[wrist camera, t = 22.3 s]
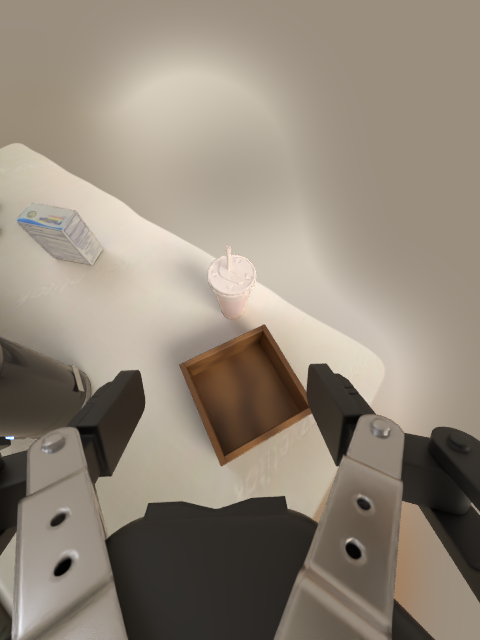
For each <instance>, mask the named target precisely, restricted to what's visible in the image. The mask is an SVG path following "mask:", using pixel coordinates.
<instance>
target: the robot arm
mask: <svg viewBox="0 0 480 640" xmlns="http://www.w3.org/2000/svg"><path fill="white" fill-rule="evenodd" d="M307 401H308V405H309V407H310V410H311V412H312V414H313V416H314V418H315V421H316V423H317V425H318V427H319V429H320V432H321V434H322V436H323V438H324V440H325V443H326V445H327V447H328V449H329V451H330V454H331V456H332V458H333V460H334V462H335V465H336V466H339V468H338V471H337V474H336V477H335V479H334V482H333V485H332V488H331V490H330V493H329V496H328V499H327V502H326V505H325V507H324V510H323V513H322V516H321V518H320V521H319V523H317V522H316V521H314V520H313V519H311V518H310V517H308V516H306V515H304V514H302V513H300V512H297V511H294V510H291V509H287V504H286V499H285V496H280V497H260V498H250V499H247V500H244V501H241V502H238V503H235V504H232V505H229V506H226V507H223V508H219V509H212V508H208V507H204V506H200V505H195V504H191V503H187V502H183V501H181V502H161V503H148V506H147V509H146V513H145V516H144V517H142V518H139V519H137V520H134V521H132V522H130V523H129V524H127V525H125V526H123V527H122V528H120V529H119V530H117V531H116V532H115V533H113V534H112V535H111V536H110V537H108V533H107V529H106V526H105V522H104V518H103V514H102V510H101V506H100V503H99V499H98V495H97V491H96V488H95V483H96V481H97V479H98V477H105V476H112V474H113V472H114V470H115V468H116V466H117V464H118V462H119V460H120V458H121V456H122V454H123V452H124V450H125V448H126V446H127V444H128V442H129V440H130V438H131V436H132V434H133V432H134V430H135V428H136V426H137V424H138V422H139V420H140V418H141V416H142V414H143V412H144V408H145V395H144V389H143V384H142V378H141V373H140V371H139V370H127V371H121V372H120V373H119V374H118V375H117V376H116V377H115V379H114V380H113V381H112V382H108V383H106V384H105V385H103V386H102V387H100V388H99V389H98V390H97V391H96V392H95V393H94V395H93V396H92V398H91V385H90V381H89V379H88V377H87V376H86V375H85V374H84V373H83V372H82V371H81V370H79V369H78V368H77V367H76V366H74V365H72V366H69V365H65V364H63V363H61V362H59V361H56V360H54V359H52V358H49V357H47V356H45V355H42V354H40V353H38V352H35V351H33V350H31V349H28V348H26V347H24V346H21V345H19V344H17V343H14V342H12V341H10V340H7V339H5V338H3V337H0V450H2V449H4V448H6V447H8V446H10V445H11V441H10V439H25V438H27V437H31V438H39V439H37V440H36V441H35V442H34V443H33V444H32V445H31V446H30V448H29V449H28V450H27V451H23V452H19V453H15V454H12V455H8V456H4V457H2V455H1V453H0V555H1V554H2V552H3V551H4V549H5V548H6V546H7V545H8V543H9V542H10V540H11V539H12V537H13V536H14V534H15V533H16V531H17V536H16V557H15V577H14V597H13V618H12V633H11V634H10V635H9V636H8V637H7V638H6V639H5V640H435V639H434V638H433V637H432V636H431V635H430V634H429V633H428V632H427V631H426V630H425V629H424V628H423V627H422V626H421V625H420V624H419V623H418V622H417V621H416V620H415V619H414V618H413V617H412V616H411V615H410V614H409V613H408V612H407V611H406V610H405V609H404V608H403V607H402V606H401V605H400V604H399V603H398V602H397V601H396V600H395V599H394V590H395V578H396V565H397V554H398V553H397V552H398V540H399V529H400V516H401V505H402V501H405V502H409V503H412V504H416V505H418V506H419V507H420V509H421V511H422V512H423V513H424V515H425V517H426V519H427V520H428V522H429V523H430V525H431V526H432V528H433V530H434V531H435V533H436V534H437V536H438V538H439V539H440V540H441V542H442V544H443V545H444V547H445V549H446V550H447V552H448V553H449V555H450V556H451V558H452V559H453V561H454V563H455V564H456V566H457V567H458V569H459V571H460V572H461V574H462V575H463V577H464V579H465V580H466V582H467V583H468V585H469V586H470V588H471V590H472V591H473V593H474V594H475V596H476V598H477V599H478V601H479V602H480V515H479V514H478V513H477V512H476V510H475V509H474V508H473V507H472V506H471V502H472V503H473V504H474V505H475V507H476V508H477V509H478V510H479V511H480V441H479V440H477V439H476V438H474V437H473V436H471V435H469V434H467V433H465V432H463V431H460V430H457V429H454V428H450V427H437V428H435V429H434V430H433V431H432V433H431V436H430V438H428V437H423V436H418V435H412V434H407V433H404V432H403V430H402V429H401V428H400V426H399V425H398V424H396V423H395V422H394V421H392V420H390V419H388V418H386V417H384V416H380V415H376V414H375V413H374V411H373V410H372V409H371V407H370V406H369V405H368V404H367V402H366V401H365V400H364V399H363V398H362V396H361V395H360V394H359V393H358V391H357V390H356V389H355V388H354V386H353V385H352V384H351V383H350V381H349V380H348V379H346V378H345V377H343V376H342V375H340V374H334V373H333V372H332V370H331V369H330V368H329V366H328V365H327V364H310V365H309V368H308V380H307Z"/></svg>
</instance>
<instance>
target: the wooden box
mask: <svg viewBox="0 0 480 640" xmlns="http://www.w3.org/2000/svg"><path fill="white" fill-rule="evenodd" d="M179 366H180V368H181V371H182V373H183V375H184V378H185V380H186V383H187V385H188V387H189V390H190V392H191V395H192V397H193V400H194V402H195V404H196V407H197V409H198V412H199V414H200V417H201V419H202V421H203V424H204V426H205V429H206V431H207V433H208V436H209V438H210V441H211V443H212V446H213V448H214V450H215V453H216V455H217V458H218V460H219V463H220V465H221V466H223V465H225V464H227V463H228V462H230V461H232V460H233V459H235V458H237V457H239V456H240V455H242V454H244V453H245V452H247V451H249V450H250V449H252V448H254V447H256V446H257V445H259V444H261V443H262V442H264V441H266V440H268V439H269V438H271V437H273V436H274V435H276V434H278V433H279V432H281V431H283V430H285V429H286V428H288V427H290V426H291V425H293V424H295V423H296V422H298V421H300V420H302V419H303V418H305V417H307V416H308V415H310V414H312V412H311V410H310V407H309V405H308V401H307V392H306V391H305V389H304V387H303V386H302V384H301V383H300V381H299V379H298V378H297V376H296V374H295V373H294V371H293V369H292V368H291V366H290V365H289V363H288V361H287V360H286V358H285V356H284V355H283V353H282V352H281V350H280V348H279V347H278V345H277V343H276V342H275V340H274V338H273V337H272V335H271V334H270V332H269V330H268V329H267V327H266V325H265V324H264V325H262V326H261V327H258V328H256V329H254V330H252V331H249V332H247V333H245V334H243V335H241V336H239V337H237V338H235V339H233V340H230V341H228V342H226V343H224V344H222V345H220V346H218V347H216V348H214V349H211V350H209V351H207V352H205V353H203V354H201V355H199V356H197V357H195V358H192V359H190V360H188V361H186V362H185V363H182V364H180V365H179Z"/></svg>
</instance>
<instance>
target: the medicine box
mask: <svg viewBox="0 0 480 640" xmlns="http://www.w3.org/2000/svg"><path fill="white" fill-rule="evenodd" d="M17 223H18V224H19V225H20V226H21V227H22V228H23V229H24V230H25V231H26V232H27V233H28V234H29V235H30V236H31V237H33V238H34V239H35V240H36V241H37V242H38V243H39V244H40V245H41V246H42V247H43V248H44V249H45V250H46V251H47V252H48V253H49V254H50V255H51V256H52V257H53V258H58V259H63V260H68V261H73V262H78V263H83V264H88V265H92V266H93V264H94V263H95V261H96V259H97V258H98V256H99V254H100V253H101V251H102V249H103V247H102V245H101V244H100V243H99V241H98V240H97V238H96V237H95V236H94V234H93V233H92V232H91V230H90V229H89V228H88V226H87V225H86V223H85V222H84V221H83V219H82V218H81V217H80V215H79V214H78V213H77V211H75V210H69V209H64V208H59V207H53V206H48V205H42V204H37V203H32V204H31V205H30V206H29V207H28V208H27V209H26V210H25V211H24V212H23V213H22V214H21V216H20V217H19V218H18V220H17Z"/></svg>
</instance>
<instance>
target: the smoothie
mask: <svg viewBox="0 0 480 640" xmlns="http://www.w3.org/2000/svg"><path fill="white" fill-rule="evenodd" d="M208 282H209V285H210V287H211V289H212V290H213V291H214V292H215V295H216V297H217V300H218V302H219V305H220V307H221V310H222V312H223V314H224V315H225V316H226V317H227V318H230V319H236V318H239V317H240V316H241V315H242V314H243V313H244V310H245V307H246V303H247V300H248V297H249V294H250V291H251V290H252V288H253V287H254V285H255V282H256V270H255V267H254V265H253V264H252V263H251V262H250V261H249V260H248V259H247V258H245V257H243V256H240V255H234V254H231V247H230V245H226V255H224V256H221V257H219V258H217V259H216V260H215V261H213V262H212V264H211V265H210V267H209V269H208Z"/></svg>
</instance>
